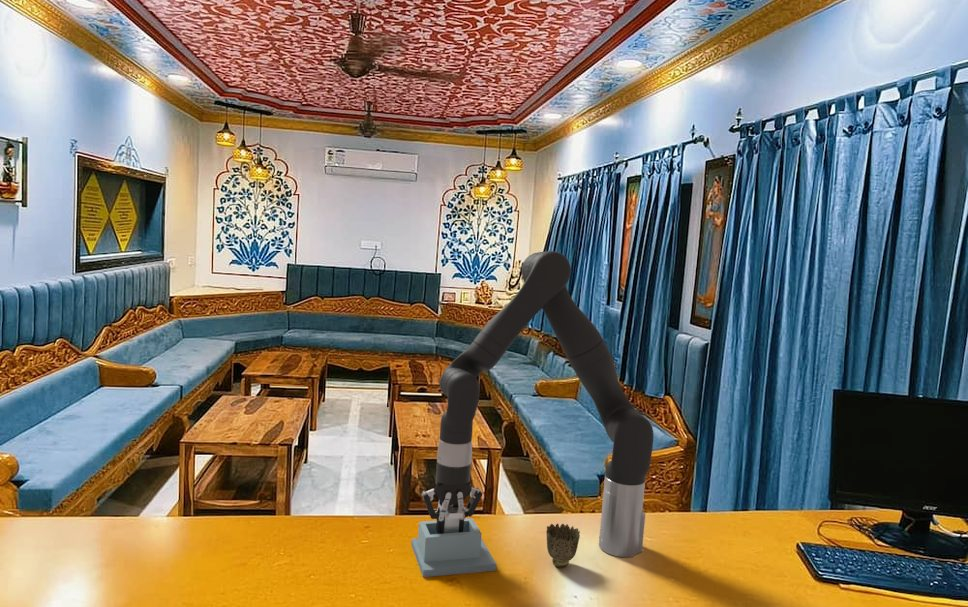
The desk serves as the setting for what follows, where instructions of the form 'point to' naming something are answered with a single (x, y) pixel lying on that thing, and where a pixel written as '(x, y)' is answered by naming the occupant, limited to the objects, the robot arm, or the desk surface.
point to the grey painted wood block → (452, 519)
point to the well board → (451, 550)
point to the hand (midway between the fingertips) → (449, 534)
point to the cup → (562, 543)
